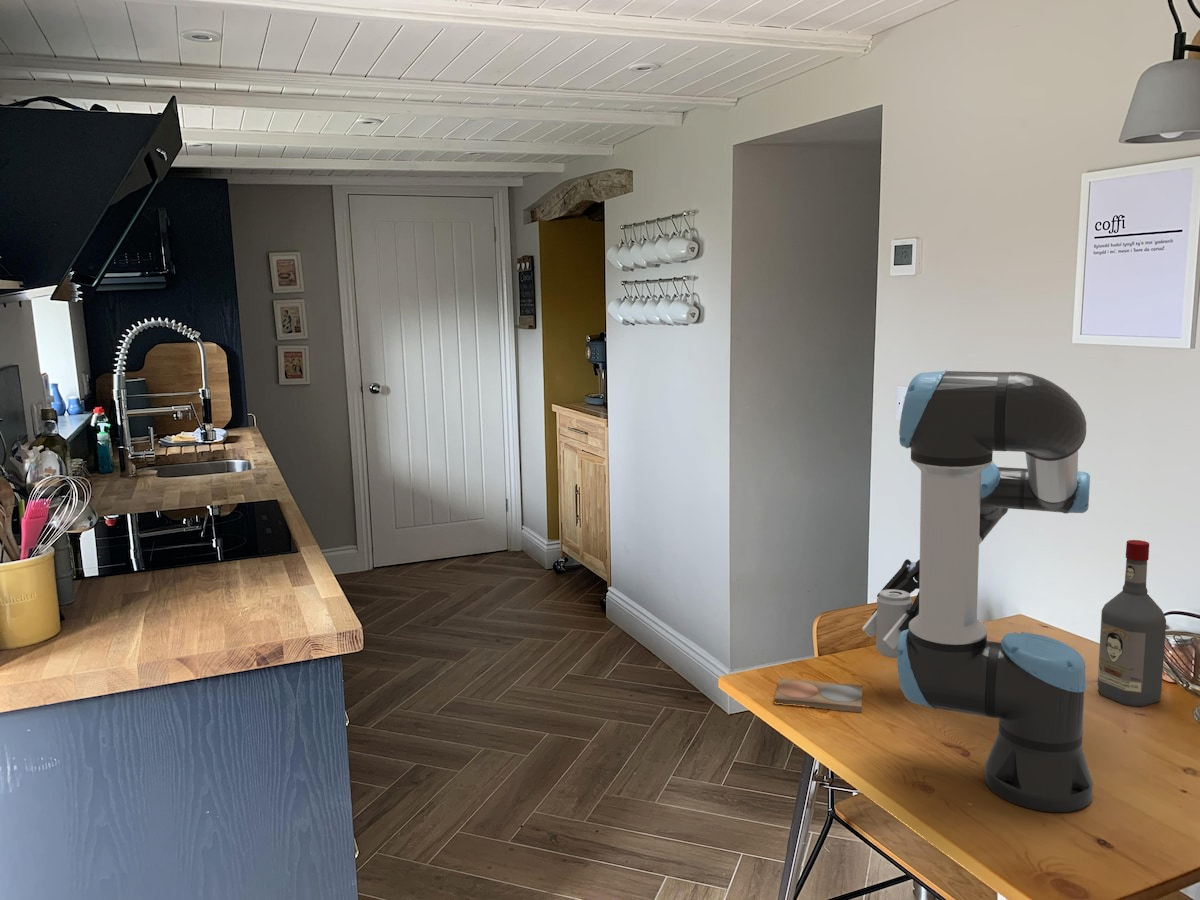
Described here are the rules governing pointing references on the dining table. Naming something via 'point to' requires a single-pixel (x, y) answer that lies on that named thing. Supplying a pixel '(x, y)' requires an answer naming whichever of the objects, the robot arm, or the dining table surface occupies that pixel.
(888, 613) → the beverage can
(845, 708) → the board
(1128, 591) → the liquor
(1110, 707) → the dining table surface
